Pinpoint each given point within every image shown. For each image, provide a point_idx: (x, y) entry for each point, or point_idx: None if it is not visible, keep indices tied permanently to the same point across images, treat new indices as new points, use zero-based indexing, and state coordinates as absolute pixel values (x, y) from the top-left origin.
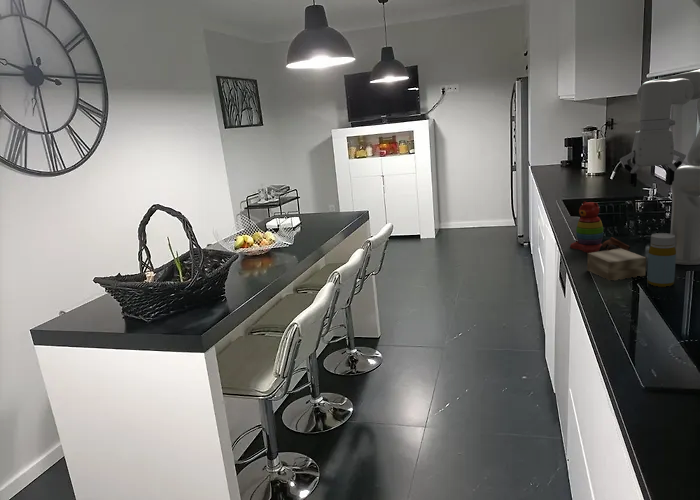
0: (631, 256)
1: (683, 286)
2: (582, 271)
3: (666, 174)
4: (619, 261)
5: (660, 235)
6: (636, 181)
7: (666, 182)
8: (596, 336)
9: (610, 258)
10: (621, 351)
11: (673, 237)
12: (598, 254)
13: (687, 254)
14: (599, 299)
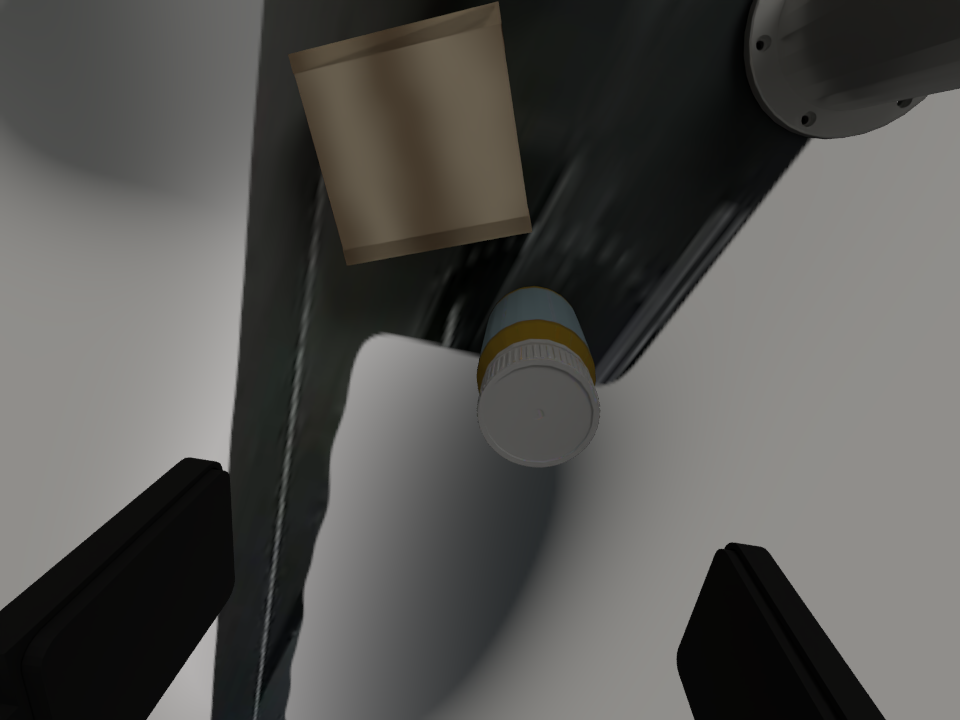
0: (476, 192)
1: None
2: None
3: (793, 713)
4: (391, 257)
5: (533, 397)
6: (186, 658)
7: (714, 593)
8: None
9: (369, 197)
10: (252, 661)
11: (566, 460)
12: (336, 100)
13: (828, 98)
14: (284, 411)
